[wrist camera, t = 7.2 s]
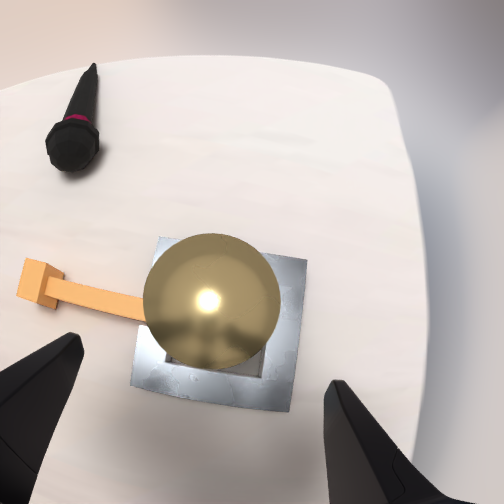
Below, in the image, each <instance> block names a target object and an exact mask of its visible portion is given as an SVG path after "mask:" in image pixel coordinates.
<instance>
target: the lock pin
mask: <svg viewBox="0 0 504 504" xmlns="http://www.w3.org/2000/svg"><path fill="white" fill-rule="evenodd" d="M63 275H64V273H63V272H61V271H59V270H58V269H56V268H54V267H52V266H51V265H49V264H47V263H45V262H41V261H37V260H33V259H29V258H26V259H25V263H24V266H23V270H22V274H21V278H20V282H19V286H18V290H17V295H16V296H18V297H20V298H23V299H26V300H29V301H32V302H35V303H38V304H41V305H44V306H47V307H50V308H53V309H56V304H57V300H62V301H65V302H69V303H72V304H76V305H79V306H83V307H87V308H90V309H94V310H98V311H102V312H106V313H110V314H114V315H118V316H122V317H127V318H131V319H135V320H140V321H144V322H146V319H145V316H144V309H143V298H138V297H134V296H129V295H124V294H120V293H115V292H111V291H107V290H102V289H98V288H94V287H90V286H85V285H81V284H77V283H73V282H69V281H65V280H62V279H63Z"/></svg>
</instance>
